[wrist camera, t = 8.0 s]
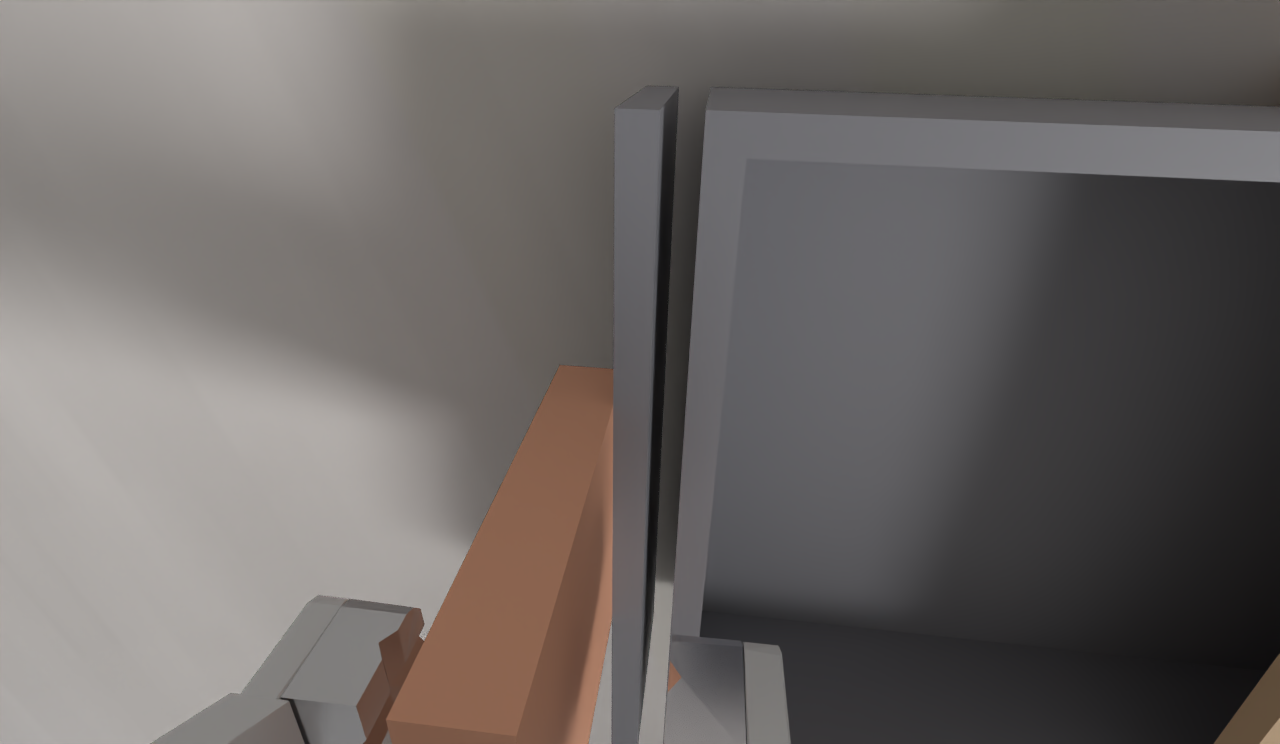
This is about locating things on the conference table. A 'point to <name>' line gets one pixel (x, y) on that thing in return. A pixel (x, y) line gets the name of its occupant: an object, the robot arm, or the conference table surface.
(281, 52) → the conference table surface
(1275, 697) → the sleeve
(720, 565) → the tray
